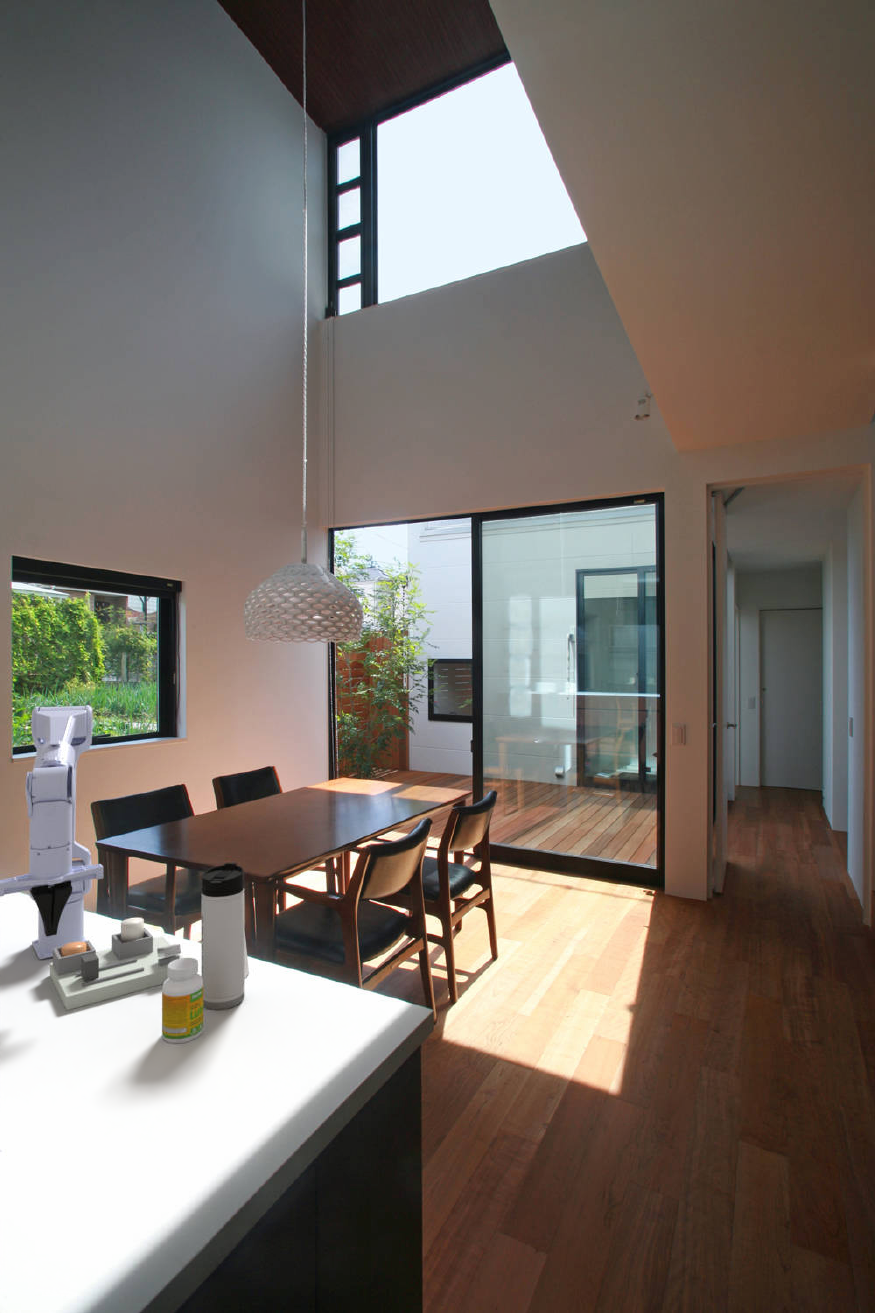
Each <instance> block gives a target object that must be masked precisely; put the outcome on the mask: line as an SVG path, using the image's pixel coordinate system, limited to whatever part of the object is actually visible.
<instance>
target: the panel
mask: <svg viewBox="0 0 875 1313" xmlns="http://www.w3.org/2000/svg"><path fill="white" fill-rule="evenodd" d="M83 942H86V952H82V953H78V954H74V955H69V956H65V957H62V947H63V946H61V947H57V948H53V957H52V962H50V963H49V976H50V978H51V980H52V983H53V985H54V987H55V989H56V991H57V993H58V996H59V998H60V1000H61V1002H62V1004H63V1006H64V1008H65V1010H66V1011H70V1010H73V1009H77V1008H81V1007H84V1006H87V1005H88V1006H89V1005H91V1004H95V1003H98V1002H101V1001H106V1000H109V999H113V998H116V997H120V996H124V995H127V994H132V993H133V992H138V991H141V990H145V989H149V988H151V987H156V986H159V985H163V984H164V982H165V981H166V980H167V979H168V975H167V968H168V964H169V963H170V962H172V961H174V960H177V959H181V958H184V957H183V956H182V955H181V953H180V954H176V955H172V956H168V957H158V953H157V948H161V947H165V946H169V945H171V944H170V942H168V941H167V940H166V938H164V936H159V937H154V936H153V935H152V934H151V933H150V932H149V931H148V930H147V929H146V927H144V938H141V939H137V940H133V941H129V942H125V943H123V942H121V932H119V933H115V934H112V935H111V948H107V949H103V950H100V951H96V948H95V947H94V946H93V944H92V942H91V941H90V940H86V941H83ZM93 953H95V954H96V955H97V957H98V958H99V978H97V979H93V980H89V981H84V980H83V978H82V976H81V956H84V955H88V954H93Z"/></svg>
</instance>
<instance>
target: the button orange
mask: <svg viewBox="0 0 875 1313" xmlns="http://www.w3.org/2000/svg"><path fill="white" fill-rule="evenodd" d="M82 952H86V942H82V941H79V942H72V943H68V944H66V945H64V946H63V947H62V957H65V956H69V955H74V954H78V953H82Z"/></svg>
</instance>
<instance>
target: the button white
mask: <svg viewBox="0 0 875 1313" xmlns="http://www.w3.org/2000/svg"><path fill="white" fill-rule="evenodd" d="M144 924H145V920H144V918H143V917H129V918H126V919H124V920H122V921H121V922H120V933H121V942H123V943H125V942H129V941H133V940H137V939H141V938H144V928H145V925H144Z"/></svg>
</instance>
